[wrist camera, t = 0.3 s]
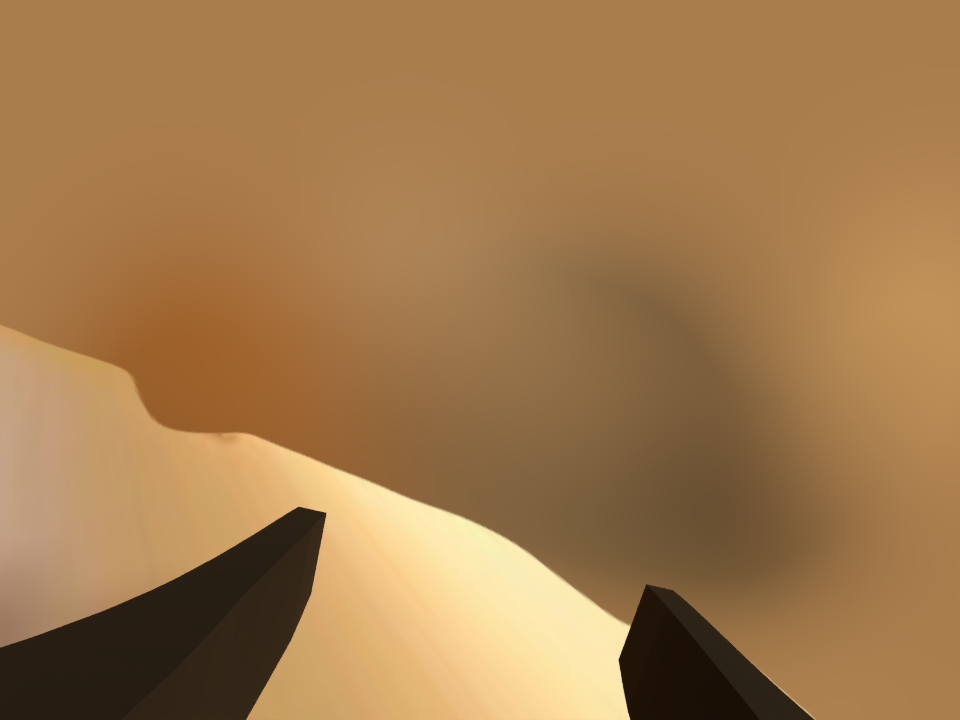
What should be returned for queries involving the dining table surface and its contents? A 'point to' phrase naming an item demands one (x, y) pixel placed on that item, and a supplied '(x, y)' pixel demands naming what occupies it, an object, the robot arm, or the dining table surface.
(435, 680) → the dining table surface
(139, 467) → the dining table surface
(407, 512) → the dining table surface
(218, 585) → the robot arm
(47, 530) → the dining table surface
